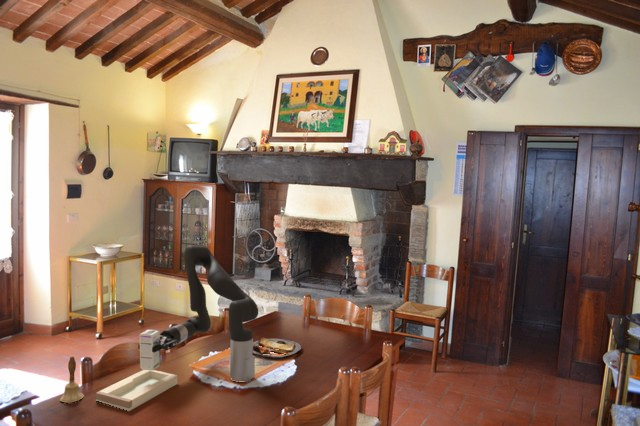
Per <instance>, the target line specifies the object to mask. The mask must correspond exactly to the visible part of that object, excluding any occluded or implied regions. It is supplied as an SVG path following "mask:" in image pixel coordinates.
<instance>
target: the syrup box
mask: <svg viewBox="0 0 640 426" xmlns="http://www.w3.org/2000/svg"><path fill="white" fill-rule="evenodd" d="M138 335H139V344H140V349H139V366H140V369H141V370H152V371H153V370H156V369H157V368H158V367H160V366H161V365H162V364H161V350H159V351H157V352H155V353H153V352H152V347H154V346H156V345H158V344H160V335H161V331H160V330H158V329H146V330H145V331H143V332H141V333H139V334H138Z"/></svg>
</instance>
